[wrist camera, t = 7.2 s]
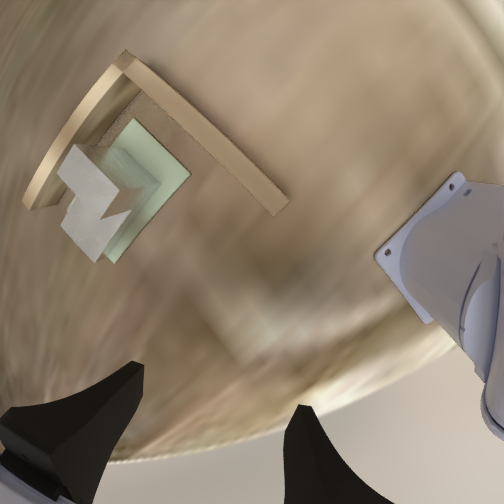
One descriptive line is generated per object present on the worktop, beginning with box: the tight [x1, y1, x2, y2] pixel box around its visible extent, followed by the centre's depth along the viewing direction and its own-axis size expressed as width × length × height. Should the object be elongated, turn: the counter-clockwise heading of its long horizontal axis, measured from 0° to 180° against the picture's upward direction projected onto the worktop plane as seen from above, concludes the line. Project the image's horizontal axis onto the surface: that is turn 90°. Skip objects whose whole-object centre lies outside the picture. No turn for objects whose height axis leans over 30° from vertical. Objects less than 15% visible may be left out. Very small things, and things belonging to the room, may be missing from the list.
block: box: [57, 144, 161, 263], centre depth 17 cm, size 7×4×6 cm, turn 137°
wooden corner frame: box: [22, 49, 289, 264], centre depth 18 cm, size 13×14×4 cm
